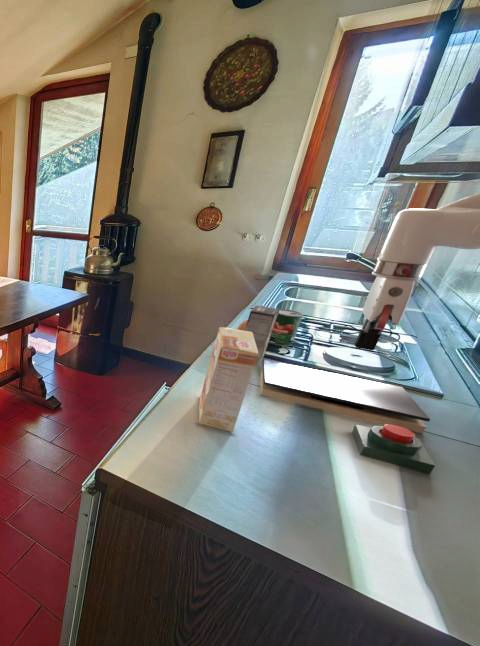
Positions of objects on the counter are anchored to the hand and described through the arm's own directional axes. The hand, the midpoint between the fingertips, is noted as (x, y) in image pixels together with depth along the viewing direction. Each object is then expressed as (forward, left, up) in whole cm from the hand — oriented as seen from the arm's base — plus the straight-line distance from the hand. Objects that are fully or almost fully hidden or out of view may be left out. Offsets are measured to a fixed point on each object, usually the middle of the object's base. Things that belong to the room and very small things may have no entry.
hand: (363, 347), depth 91 cm
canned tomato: (+11, -45, -16) cm, 49 cm away
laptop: (+1, -6, -16) cm, 17 cm away
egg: (+21, -35, -16) cm, 44 cm away
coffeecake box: (+25, +22, -16) cm, 37 cm away
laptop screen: (+1, -6, -14) cm, 15 cm away
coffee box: (+19, -23, -16) cm, 34 cm away
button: (-6, +18, -13) cm, 23 cm away
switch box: (-6, +18, -16) cm, 25 cm away
